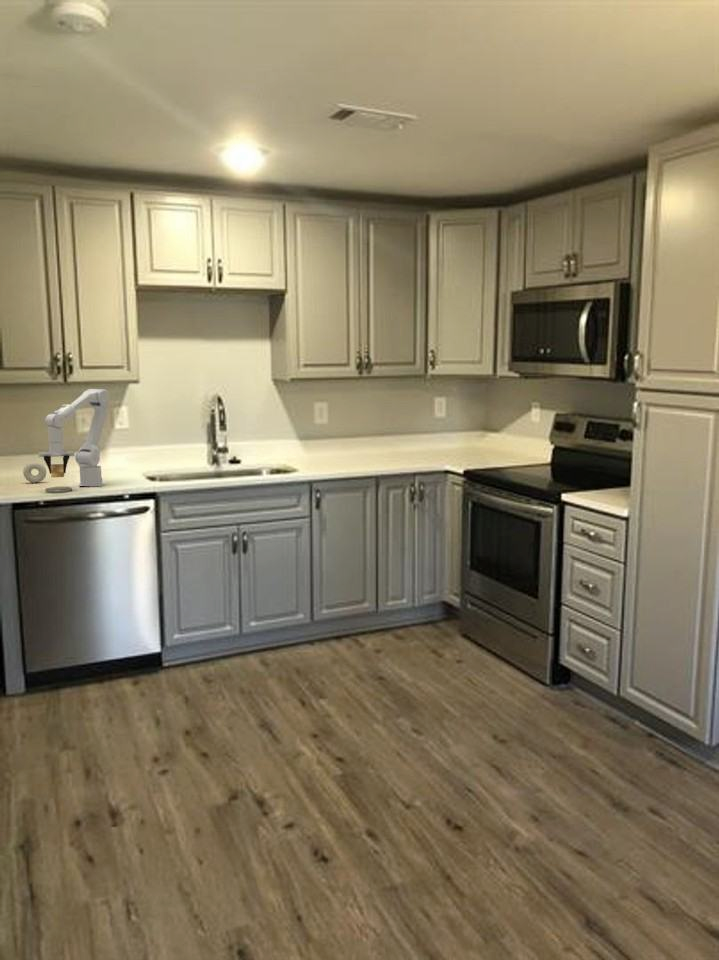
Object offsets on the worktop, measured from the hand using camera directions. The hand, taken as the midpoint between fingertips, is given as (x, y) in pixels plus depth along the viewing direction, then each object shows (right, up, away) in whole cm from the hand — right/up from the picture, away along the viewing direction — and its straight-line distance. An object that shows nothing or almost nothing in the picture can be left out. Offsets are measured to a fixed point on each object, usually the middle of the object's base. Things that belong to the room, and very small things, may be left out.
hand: (57, 473), depth 345 cm
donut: (-18, -5, +22) cm, 29 cm away
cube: (0, -1, 0) cm, 1 cm away
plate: (0, -8, +1) cm, 8 cm away
